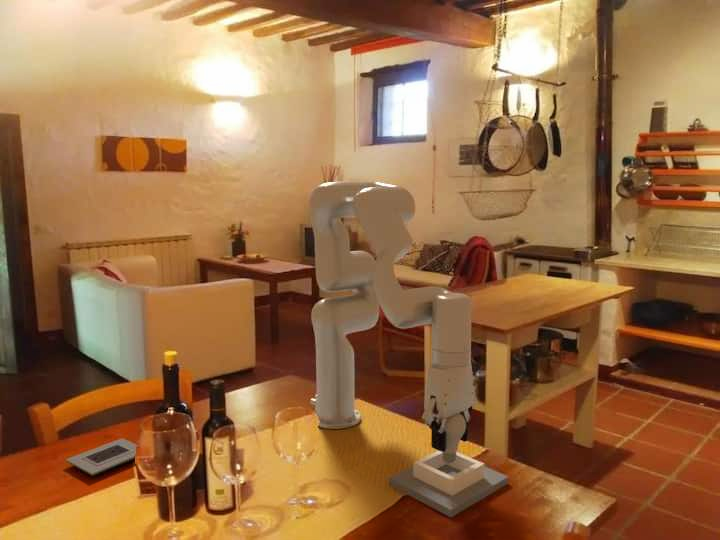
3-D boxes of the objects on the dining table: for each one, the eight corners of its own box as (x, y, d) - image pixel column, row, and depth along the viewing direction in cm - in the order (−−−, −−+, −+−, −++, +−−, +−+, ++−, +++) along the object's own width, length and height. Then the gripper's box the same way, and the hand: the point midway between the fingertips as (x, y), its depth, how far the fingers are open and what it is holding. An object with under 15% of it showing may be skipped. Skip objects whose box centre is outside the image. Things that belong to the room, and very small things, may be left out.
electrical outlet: (92, 483, 123) (91, 472, 122) (66, 468, 129) (65, 458, 129) (149, 459, 133) (148, 449, 133) (122, 446, 139) (122, 436, 139)
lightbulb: (455, 454, 124) (457, 403, 122) (470, 467, 118) (472, 414, 117) (428, 458, 122) (429, 406, 121) (442, 472, 116) (443, 417, 115)
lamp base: (388, 484, 121) (388, 463, 120) (446, 456, 133) (446, 437, 132) (450, 517, 109) (451, 494, 109) (508, 483, 121) (508, 462, 121)
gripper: (463, 344, 125) (461, 426, 128) (406, 361, 114) (405, 451, 117) (493, 352, 120) (491, 437, 123) (436, 370, 108) (435, 464, 111)
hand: (449, 443), depth 120 cm, fingers closed on lightbulb, 6 cm apart
